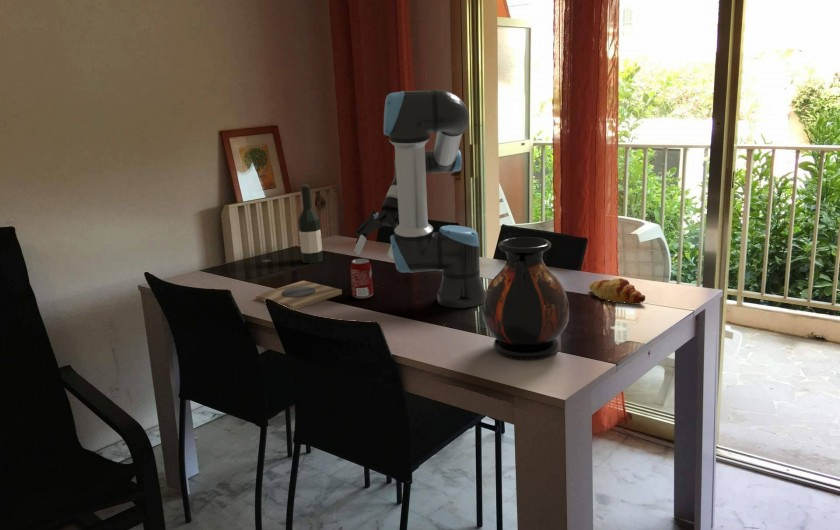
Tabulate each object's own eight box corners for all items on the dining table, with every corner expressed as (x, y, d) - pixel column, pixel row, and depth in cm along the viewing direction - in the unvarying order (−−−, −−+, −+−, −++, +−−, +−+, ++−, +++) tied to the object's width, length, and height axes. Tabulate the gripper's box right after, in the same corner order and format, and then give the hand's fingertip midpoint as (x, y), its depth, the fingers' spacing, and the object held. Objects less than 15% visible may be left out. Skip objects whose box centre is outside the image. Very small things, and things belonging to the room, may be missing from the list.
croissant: (583, 303, 229) (575, 284, 225) (603, 283, 233) (594, 264, 229) (638, 318, 212) (630, 298, 208) (658, 296, 216) (650, 275, 212)
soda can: (370, 299, 233) (367, 263, 230) (350, 299, 234) (347, 263, 231) (375, 293, 239) (373, 258, 236) (355, 293, 241) (353, 258, 238)
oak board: (341, 293, 241) (341, 288, 240) (293, 310, 227) (293, 304, 226) (303, 284, 254) (303, 279, 254) (255, 299, 240) (255, 294, 239)
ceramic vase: (492, 332, 199) (489, 231, 191) (573, 336, 192) (573, 232, 185) (475, 363, 179) (471, 252, 172) (564, 368, 173) (564, 254, 165)
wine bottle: (321, 263, 281) (314, 186, 274) (300, 264, 282) (292, 187, 274) (324, 257, 289) (317, 182, 282) (303, 258, 290) (296, 183, 282)
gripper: (431, 210, 245) (409, 264, 237) (371, 206, 258) (348, 257, 250) (421, 197, 239) (398, 252, 231) (361, 193, 253) (337, 245, 244)
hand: (372, 255), depth 241 cm, fingers open, 13 cm apart
